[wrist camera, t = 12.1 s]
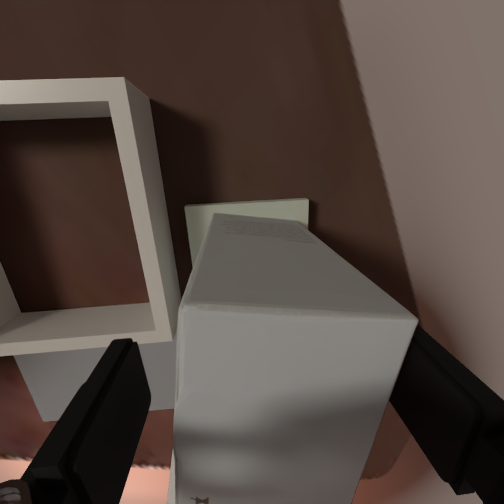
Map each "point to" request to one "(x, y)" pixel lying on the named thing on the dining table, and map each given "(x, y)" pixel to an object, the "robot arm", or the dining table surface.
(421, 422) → the robot arm
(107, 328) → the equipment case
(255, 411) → the small box
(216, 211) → the rubber mat
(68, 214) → the dining table surface
